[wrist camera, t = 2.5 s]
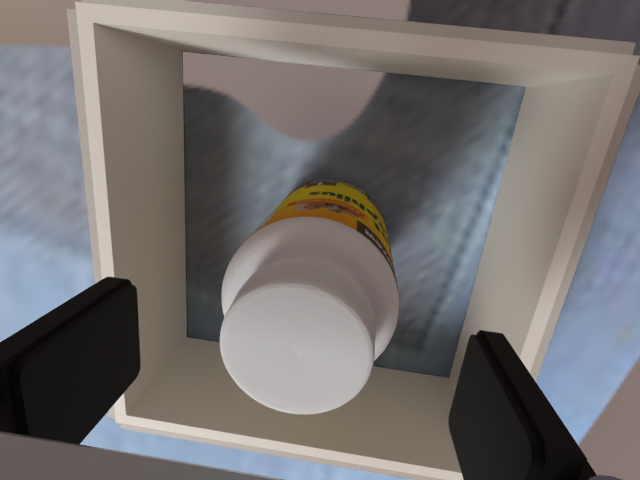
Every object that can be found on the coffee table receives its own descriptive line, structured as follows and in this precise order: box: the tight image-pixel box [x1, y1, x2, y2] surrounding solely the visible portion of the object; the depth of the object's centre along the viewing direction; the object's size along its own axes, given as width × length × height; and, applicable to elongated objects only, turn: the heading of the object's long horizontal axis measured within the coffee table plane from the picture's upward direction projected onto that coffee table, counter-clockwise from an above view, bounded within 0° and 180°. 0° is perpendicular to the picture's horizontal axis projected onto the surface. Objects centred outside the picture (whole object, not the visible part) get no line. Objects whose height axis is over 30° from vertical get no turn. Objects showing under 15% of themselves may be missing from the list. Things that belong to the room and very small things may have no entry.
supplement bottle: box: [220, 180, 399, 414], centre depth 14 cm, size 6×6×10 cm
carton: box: [67, 0, 640, 480], centre depth 16 cm, size 17×17×6 cm
